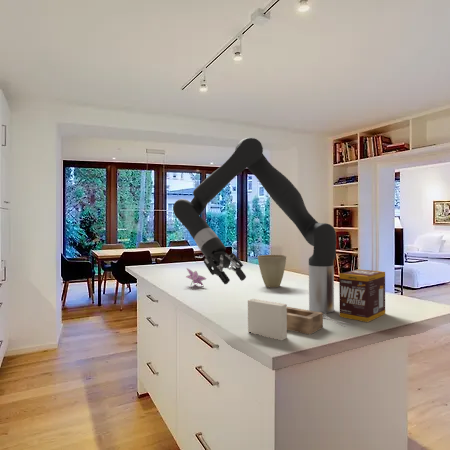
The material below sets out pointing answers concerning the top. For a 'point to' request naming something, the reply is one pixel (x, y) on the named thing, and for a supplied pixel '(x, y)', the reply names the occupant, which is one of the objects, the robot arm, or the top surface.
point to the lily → (195, 277)
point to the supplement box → (362, 294)
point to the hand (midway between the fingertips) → (236, 280)
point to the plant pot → (272, 269)
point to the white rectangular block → (267, 318)
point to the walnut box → (304, 320)
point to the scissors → (333, 319)
